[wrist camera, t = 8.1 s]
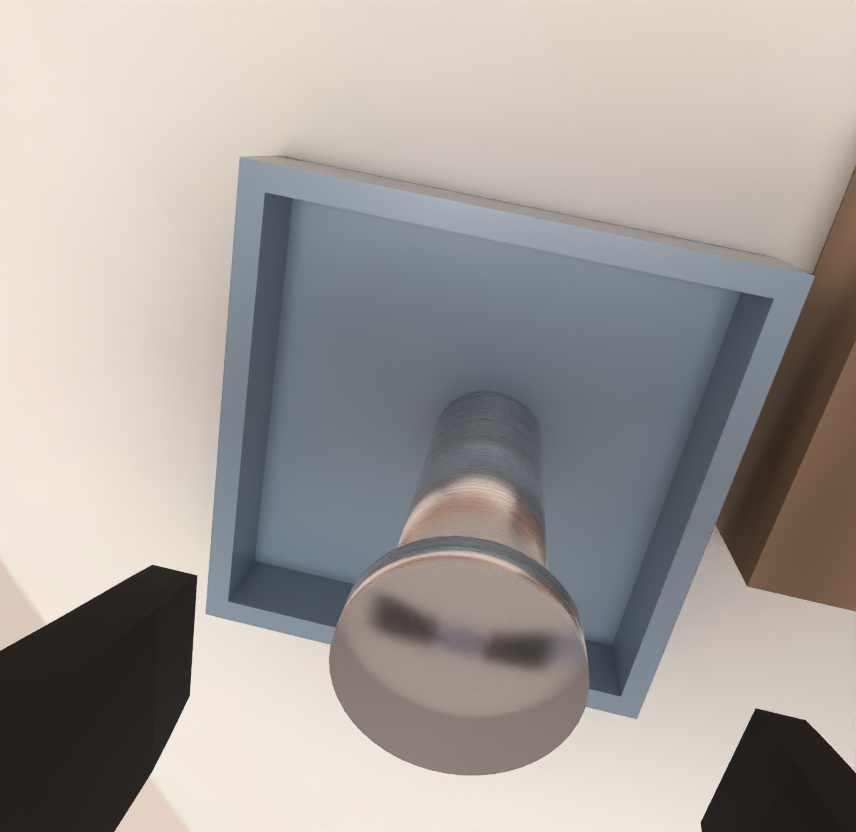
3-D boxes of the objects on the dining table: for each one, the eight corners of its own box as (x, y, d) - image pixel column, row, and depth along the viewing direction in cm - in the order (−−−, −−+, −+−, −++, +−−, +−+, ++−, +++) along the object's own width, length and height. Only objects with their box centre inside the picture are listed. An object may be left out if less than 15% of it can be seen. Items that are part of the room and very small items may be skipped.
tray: (773, 257, 16) (815, 275, 14) (623, 654, 21) (636, 719, 18) (279, 155, 17) (239, 157, 14) (240, 563, 21) (205, 614, 19)
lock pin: (577, 391, 17) (623, 605, 9) (538, 518, 19) (549, 801, 11) (431, 357, 18) (351, 537, 9) (404, 485, 19) (313, 738, 11)
